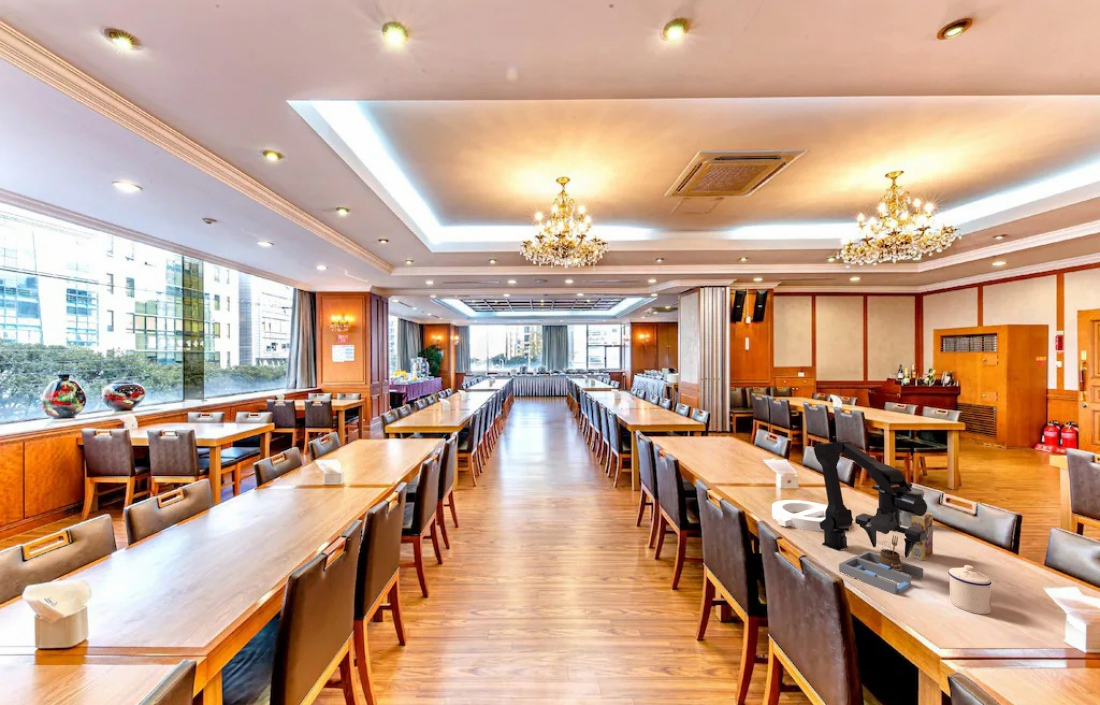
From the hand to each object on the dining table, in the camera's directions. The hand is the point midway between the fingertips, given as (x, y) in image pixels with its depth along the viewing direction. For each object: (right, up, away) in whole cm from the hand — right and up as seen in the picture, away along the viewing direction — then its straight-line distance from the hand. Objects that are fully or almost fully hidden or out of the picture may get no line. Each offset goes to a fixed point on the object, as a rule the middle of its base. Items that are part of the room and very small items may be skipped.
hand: (890, 552), depth 148 cm
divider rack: (-4, -7, -3) cm, 8 cm away
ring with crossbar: (+1, -8, +49) cm, 50 cm away
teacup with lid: (+8, -7, -19) cm, 21 cm away
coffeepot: (+41, -8, +42) cm, 59 cm away
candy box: (+21, -7, +12) cm, 25 cm away
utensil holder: (0, -7, 0) cm, 7 cm away
